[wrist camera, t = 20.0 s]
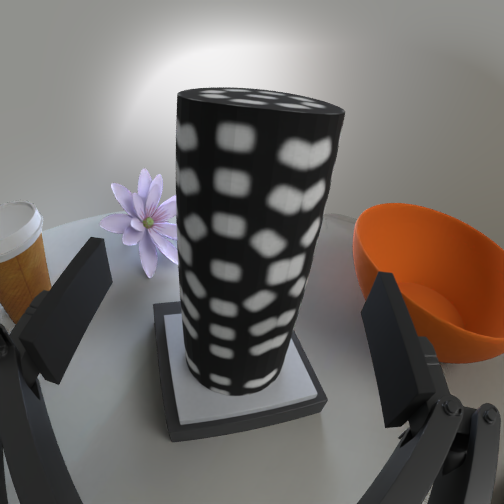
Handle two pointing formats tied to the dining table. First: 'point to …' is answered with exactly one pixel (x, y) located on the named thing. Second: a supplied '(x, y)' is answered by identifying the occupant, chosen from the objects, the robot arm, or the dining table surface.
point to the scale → (224, 406)
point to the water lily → (145, 220)
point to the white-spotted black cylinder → (248, 225)
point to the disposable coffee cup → (21, 257)
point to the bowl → (437, 277)
